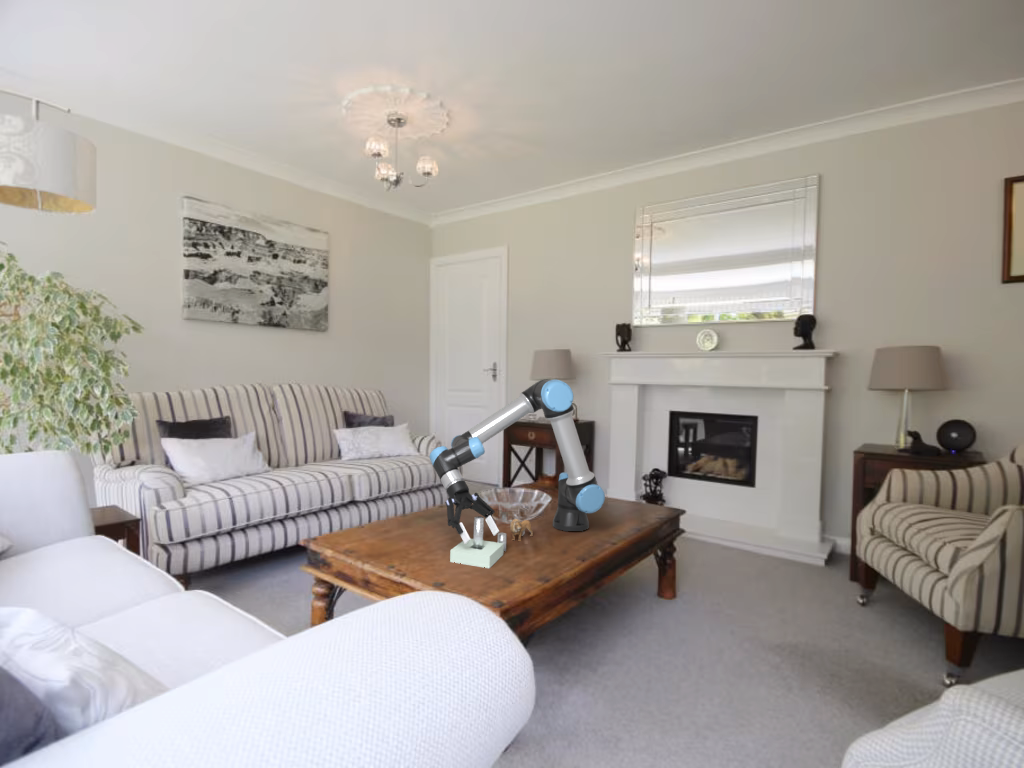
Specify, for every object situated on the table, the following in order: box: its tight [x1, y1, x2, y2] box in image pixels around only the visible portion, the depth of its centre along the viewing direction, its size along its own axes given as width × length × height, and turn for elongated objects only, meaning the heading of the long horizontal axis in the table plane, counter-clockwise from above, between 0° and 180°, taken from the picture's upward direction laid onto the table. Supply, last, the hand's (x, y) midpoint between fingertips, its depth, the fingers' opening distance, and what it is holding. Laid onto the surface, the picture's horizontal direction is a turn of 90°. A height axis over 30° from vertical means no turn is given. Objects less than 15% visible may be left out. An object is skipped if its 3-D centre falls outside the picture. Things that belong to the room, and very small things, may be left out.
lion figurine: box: [509, 518, 534, 542], centre depth 205 cm, size 15×5×9 cm, turn 152°
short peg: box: [497, 532, 508, 553], centre depth 191 cm, size 3×3×6 cm
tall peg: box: [472, 515, 485, 550], centre depth 182 cm, size 3×3×14 cm
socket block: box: [449, 538, 504, 569], centre depth 182 cm, size 14×14×4 cm
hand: (482, 537), depth 180 cm, fingers open, 13 cm apart
